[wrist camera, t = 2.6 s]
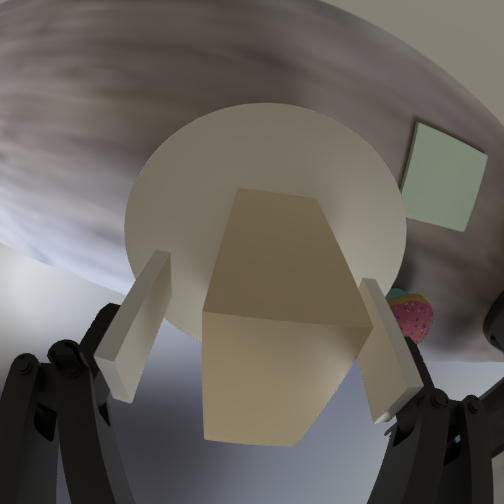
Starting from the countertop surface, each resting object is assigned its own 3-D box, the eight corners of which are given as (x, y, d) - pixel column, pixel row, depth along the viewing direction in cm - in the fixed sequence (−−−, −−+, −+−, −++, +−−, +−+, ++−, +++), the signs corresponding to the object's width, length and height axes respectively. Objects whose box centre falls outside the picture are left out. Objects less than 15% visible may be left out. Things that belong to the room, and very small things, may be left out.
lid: (429, 143, 13) (565, 212, 4) (350, 350, 21) (374, 461, 12) (132, 96, 12) (-22, 117, 3) (145, 326, 21) (102, 436, 12)
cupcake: (370, 333, 35) (393, 405, 25) (349, 296, 32) (375, 377, 21) (423, 304, 32) (459, 370, 22) (409, 262, 29) (456, 332, 19)
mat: (484, 154, 21) (487, 156, 21) (461, 230, 26) (463, 232, 26) (416, 121, 21) (419, 122, 21) (392, 212, 26) (394, 214, 26)
